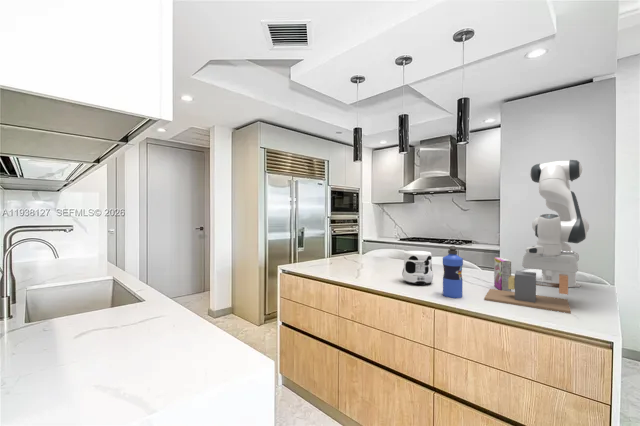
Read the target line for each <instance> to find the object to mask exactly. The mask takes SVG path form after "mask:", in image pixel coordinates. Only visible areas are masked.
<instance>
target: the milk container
mask: <svg viewBox="0 0 640 426" xmlns="http://www.w3.org/2000/svg"><path fill="white" fill-rule="evenodd" d="M432 256H433V255H432V252H431V251H426V250H405V251H404V252H403V269H402V271H401V272H402V279H403V281H404V282H406V283H409V284H411V285H428V284H432V282H433V280H434V272H433V268H432V266H433V265H432V260H433V258H432Z"/></svg>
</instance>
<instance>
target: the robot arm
mask: <svg viewBox="0 0 640 426" xmlns="http://www.w3.org/2000/svg"><path fill="white" fill-rule="evenodd" d="M582 172H583V166H582V164H581V163H580V161H579V160H576V159H569V160H554V161H549V162H544V163H537V164H534V165H533V166H532V167H531V168H530V171H529V176H530V177H529V178H530V179H531V181H533V182H534V183H536V184H537V183H538V193H539V196H541V197H542V198H543V199H545V205H546V208H548V209H550V210H551V211H554V212H556V213H557V214H554V213H545V214H540V215H539V216H538V217H537V216H536V217H534V219H533V221H532V225H531V228H532V230H533V231H534V234H535V237H536V238H537V241H536V245H531V246H527V247H525V253H524V254H523V258H522V265H521V266H522V268H524V269H531V270H541V278H540V279H538V280H537V281H541V282H550V283H559V274H565V275H568V288H574V287H575V288H580V287H581V284H579V283H578V282H577V274H576V273H578V271H579V268H578V267H579V266H578V261H579V259H580V255H579V254H578V252H575V251H573V250H572V247H571V246H570V245H569V244H568V243H571V244H579V243H581V242H583V241H584V240H586V239H587V233H588V232H589V229H590V224H589V222H588V220H587V219H586V218H585V217H582V214H581V209H580V206H579V201H578V198H577V196H576V194H575V192H574V191H572V190H571V185H570V182H571V183H572V182H573V181H576V180H578V179H579V178H580V177H581V175H582Z"/></svg>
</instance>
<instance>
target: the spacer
mask: <svg viewBox="0 0 640 426" xmlns="http://www.w3.org/2000/svg"><path fill="white" fill-rule="evenodd" d="M514 282H515V275H512V274H511V275H509V277H508V289H511V290H514V291H515V283H514Z"/></svg>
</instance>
